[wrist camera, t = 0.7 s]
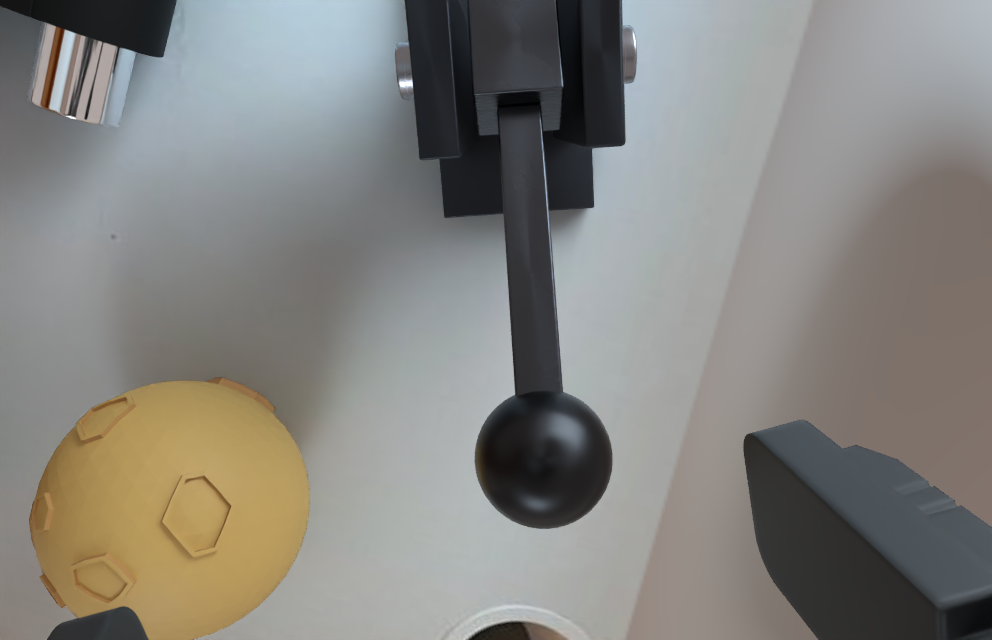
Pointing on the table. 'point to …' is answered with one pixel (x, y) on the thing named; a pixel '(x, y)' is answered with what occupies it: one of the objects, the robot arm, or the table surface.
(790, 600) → the robot arm
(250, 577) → the stress ball
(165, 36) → the audio adapter
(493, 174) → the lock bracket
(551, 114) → the lever
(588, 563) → the table surface
